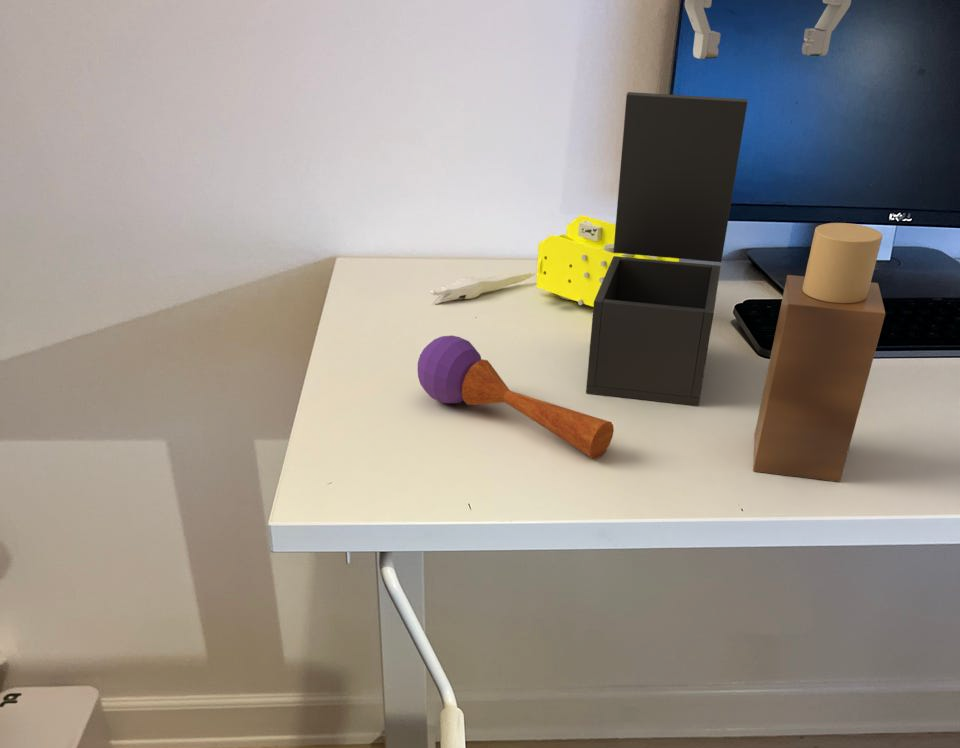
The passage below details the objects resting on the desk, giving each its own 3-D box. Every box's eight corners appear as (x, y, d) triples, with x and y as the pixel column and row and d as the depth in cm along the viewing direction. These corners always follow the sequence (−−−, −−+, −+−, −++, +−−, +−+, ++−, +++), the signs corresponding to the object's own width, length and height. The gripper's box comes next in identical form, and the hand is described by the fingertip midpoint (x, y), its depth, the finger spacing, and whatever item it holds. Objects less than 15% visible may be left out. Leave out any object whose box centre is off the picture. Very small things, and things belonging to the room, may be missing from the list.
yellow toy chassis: (674, 320, 110) (685, 242, 105) (642, 332, 107) (651, 253, 102) (566, 284, 119) (571, 210, 114) (534, 294, 116) (537, 219, 111)
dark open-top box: (698, 406, 92) (713, 312, 87) (585, 393, 94) (593, 300, 89) (706, 352, 103) (720, 265, 97) (605, 341, 105) (613, 255, 99)
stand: (836, 444, 87) (878, 282, 78) (839, 482, 81) (885, 313, 73) (754, 434, 88) (787, 274, 79) (752, 471, 82) (787, 303, 74)
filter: (864, 285, 77) (880, 225, 75) (869, 306, 74) (885, 243, 71) (801, 280, 78) (814, 220, 75) (802, 300, 74) (816, 238, 72)
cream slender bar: (437, 308, 112) (437, 291, 110) (424, 301, 113) (424, 284, 112) (541, 284, 119) (542, 268, 117) (528, 278, 120) (529, 262, 119)
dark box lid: (747, 101, 87) (750, 83, 90) (626, 94, 88) (634, 76, 92) (721, 262, 97) (724, 239, 100) (613, 252, 99) (620, 231, 102)
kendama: (581, 428, 79) (400, 344, 88) (579, 486, 84) (407, 401, 93) (624, 393, 82) (445, 315, 91) (620, 451, 87) (449, 371, 96)
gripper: (901, -161, 76) (858, 48, 84) (646, -164, 73) (628, 53, 81) (947, -163, 71) (897, 58, 79) (676, -167, 68) (654, 65, 76)
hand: (759, 56), depth 80 cm, fingers open, 8 cm apart
